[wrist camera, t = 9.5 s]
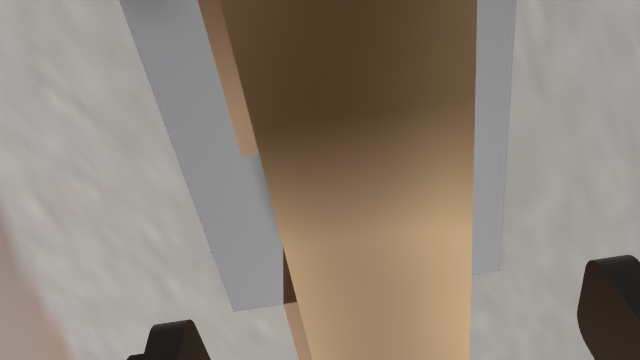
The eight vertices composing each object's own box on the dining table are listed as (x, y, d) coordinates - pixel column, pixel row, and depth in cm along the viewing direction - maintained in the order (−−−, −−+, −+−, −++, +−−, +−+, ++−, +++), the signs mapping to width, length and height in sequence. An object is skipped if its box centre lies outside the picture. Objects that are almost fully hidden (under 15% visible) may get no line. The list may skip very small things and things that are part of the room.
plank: (425, -102, 9) (479, -74, 7) (440, 374, 17) (467, 466, 15) (230, -67, 9) (213, -27, 7) (335, 389, 17) (344, 484, 15)
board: (519, -243, 14) (531, -247, 13) (493, 258, 24) (499, 270, 23) (71, -159, 14) (61, -159, 13) (234, 298, 24) (233, 311, 24)
